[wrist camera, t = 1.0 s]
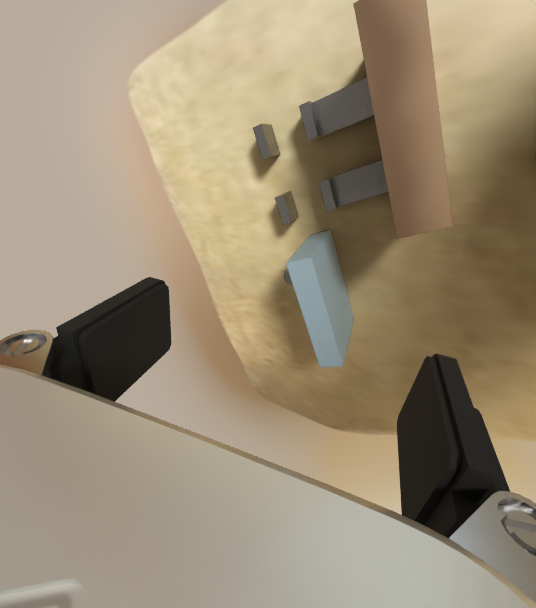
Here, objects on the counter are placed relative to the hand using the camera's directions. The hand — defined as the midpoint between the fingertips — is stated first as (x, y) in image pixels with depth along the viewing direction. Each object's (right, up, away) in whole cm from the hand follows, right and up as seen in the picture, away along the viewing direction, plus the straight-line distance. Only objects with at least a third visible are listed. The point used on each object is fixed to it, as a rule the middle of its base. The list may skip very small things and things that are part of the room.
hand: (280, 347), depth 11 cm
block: (+8, +5, +27) cm, 29 cm away
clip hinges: (+6, +17, +21) cm, 28 cm away
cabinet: (+12, +18, +18) cm, 28 cm away
